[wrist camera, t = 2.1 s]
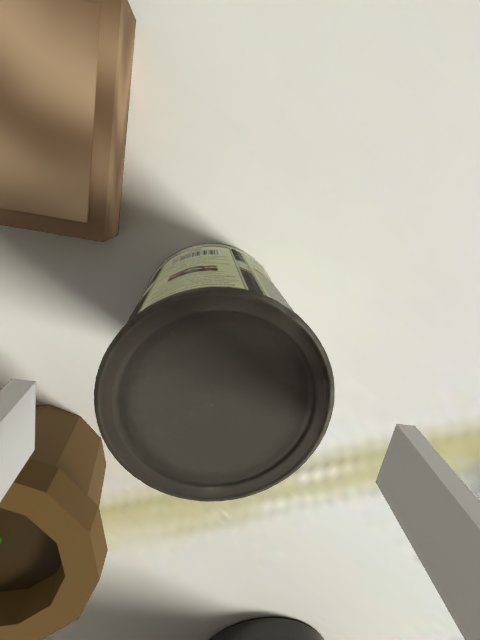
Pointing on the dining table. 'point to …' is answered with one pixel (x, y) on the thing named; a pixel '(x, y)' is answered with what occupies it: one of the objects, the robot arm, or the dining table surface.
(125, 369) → the coffee can
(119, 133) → the walnut base
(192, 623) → the dining table surface
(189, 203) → the dining table surface
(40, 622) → the flowerpot
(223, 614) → the dining table surface
